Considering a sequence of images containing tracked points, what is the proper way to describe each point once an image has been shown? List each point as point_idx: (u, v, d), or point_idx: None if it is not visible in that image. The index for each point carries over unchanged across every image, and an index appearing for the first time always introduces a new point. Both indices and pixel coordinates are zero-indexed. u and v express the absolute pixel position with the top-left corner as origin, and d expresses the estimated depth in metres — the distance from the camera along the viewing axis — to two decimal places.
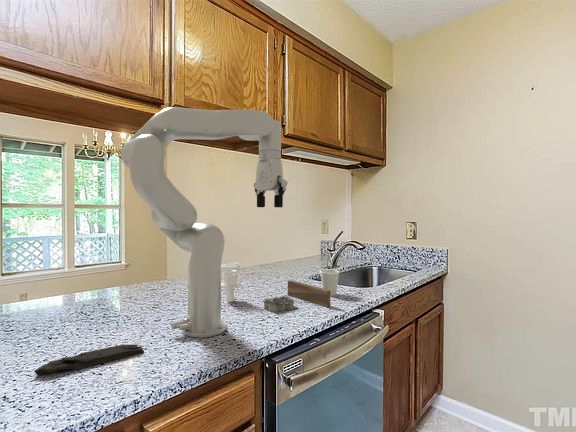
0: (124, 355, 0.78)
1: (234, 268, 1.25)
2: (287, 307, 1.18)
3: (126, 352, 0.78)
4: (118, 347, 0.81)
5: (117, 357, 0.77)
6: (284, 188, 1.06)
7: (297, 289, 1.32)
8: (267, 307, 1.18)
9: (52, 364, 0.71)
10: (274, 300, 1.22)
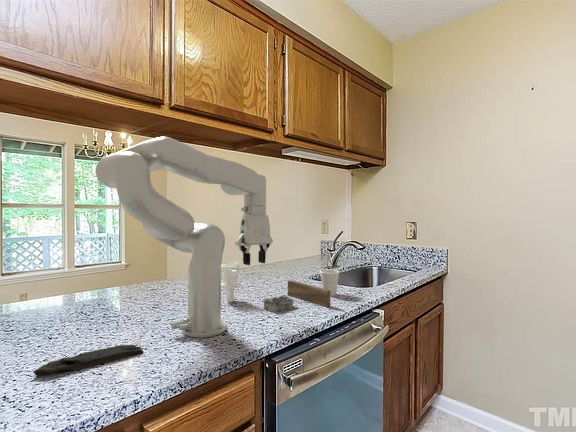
0: (123, 356, 0.78)
1: (234, 268, 1.25)
2: (287, 307, 1.19)
3: (125, 352, 0.78)
4: (117, 347, 0.81)
5: (116, 358, 0.77)
6: None
7: (297, 289, 1.32)
8: (267, 307, 1.17)
9: (51, 365, 0.71)
10: (273, 300, 1.22)
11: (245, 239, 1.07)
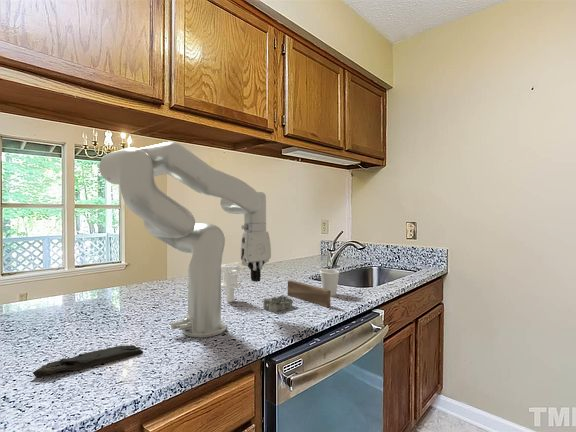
0: (123, 356, 0.78)
1: (234, 268, 1.25)
2: (286, 306, 1.19)
3: (125, 353, 0.78)
4: (117, 348, 0.81)
5: (116, 358, 0.77)
6: None
7: (297, 289, 1.32)
8: (267, 307, 1.17)
9: (51, 365, 0.71)
10: (272, 300, 1.22)
11: (246, 257, 1.07)
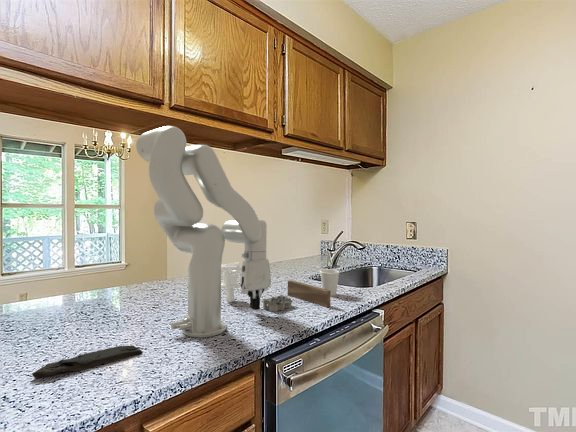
0: (123, 357, 0.78)
1: (234, 268, 1.25)
2: (286, 306, 1.20)
3: (125, 353, 0.78)
4: (116, 348, 0.80)
5: (116, 358, 0.77)
6: None
7: (297, 289, 1.32)
8: (267, 307, 1.17)
9: (50, 367, 0.70)
10: (271, 300, 1.22)
11: (246, 286, 1.08)
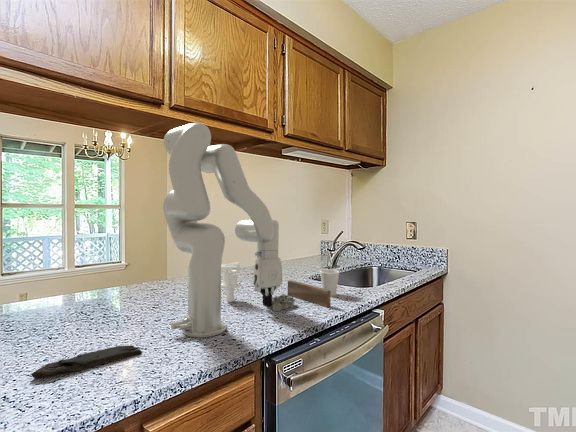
0: (122, 357, 0.77)
1: (234, 268, 1.25)
2: (289, 305, 1.21)
3: (124, 353, 0.78)
4: (115, 348, 0.80)
5: (115, 358, 0.76)
6: None
7: (297, 289, 1.32)
8: (270, 306, 1.18)
9: (49, 367, 0.70)
10: (274, 299, 1.23)
11: (259, 283, 1.11)
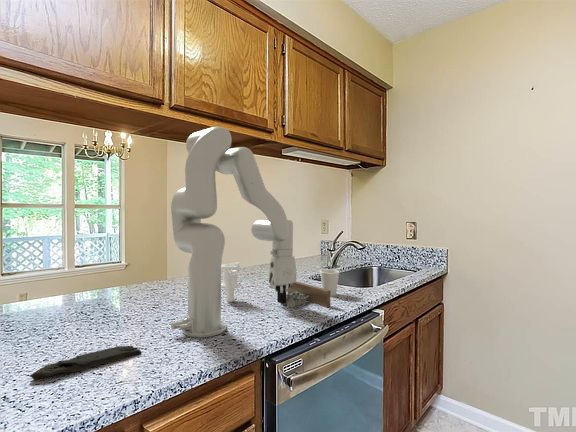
0: (122, 357, 0.77)
1: (234, 268, 1.25)
2: (302, 302, 1.26)
3: (124, 353, 0.78)
4: (115, 349, 0.80)
5: (115, 359, 0.76)
6: None
7: (297, 289, 1.32)
8: (284, 303, 1.23)
9: (48, 368, 0.70)
10: (287, 296, 1.28)
11: (274, 281, 1.15)
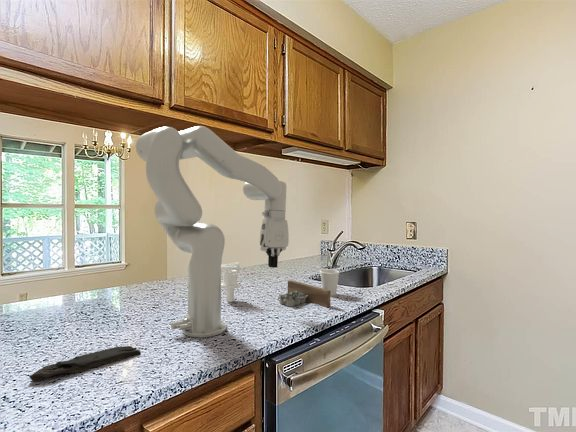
0: (121, 357, 0.77)
1: (234, 268, 1.25)
2: (301, 301, 1.26)
3: (123, 354, 0.78)
4: (113, 349, 0.80)
5: (114, 359, 0.76)
6: None
7: (297, 289, 1.32)
8: (283, 302, 1.24)
9: (47, 369, 0.69)
10: (286, 296, 1.29)
11: (265, 242, 1.11)
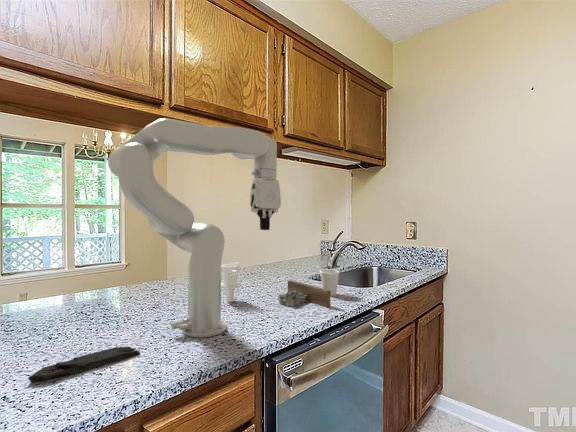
0: (121, 358, 0.77)
1: (234, 268, 1.25)
2: (300, 301, 1.27)
3: (123, 354, 0.77)
4: (112, 350, 0.79)
5: (114, 360, 0.76)
6: None
7: (297, 289, 1.32)
8: (283, 302, 1.24)
9: (46, 370, 0.69)
10: (286, 295, 1.29)
11: (256, 203, 1.06)
